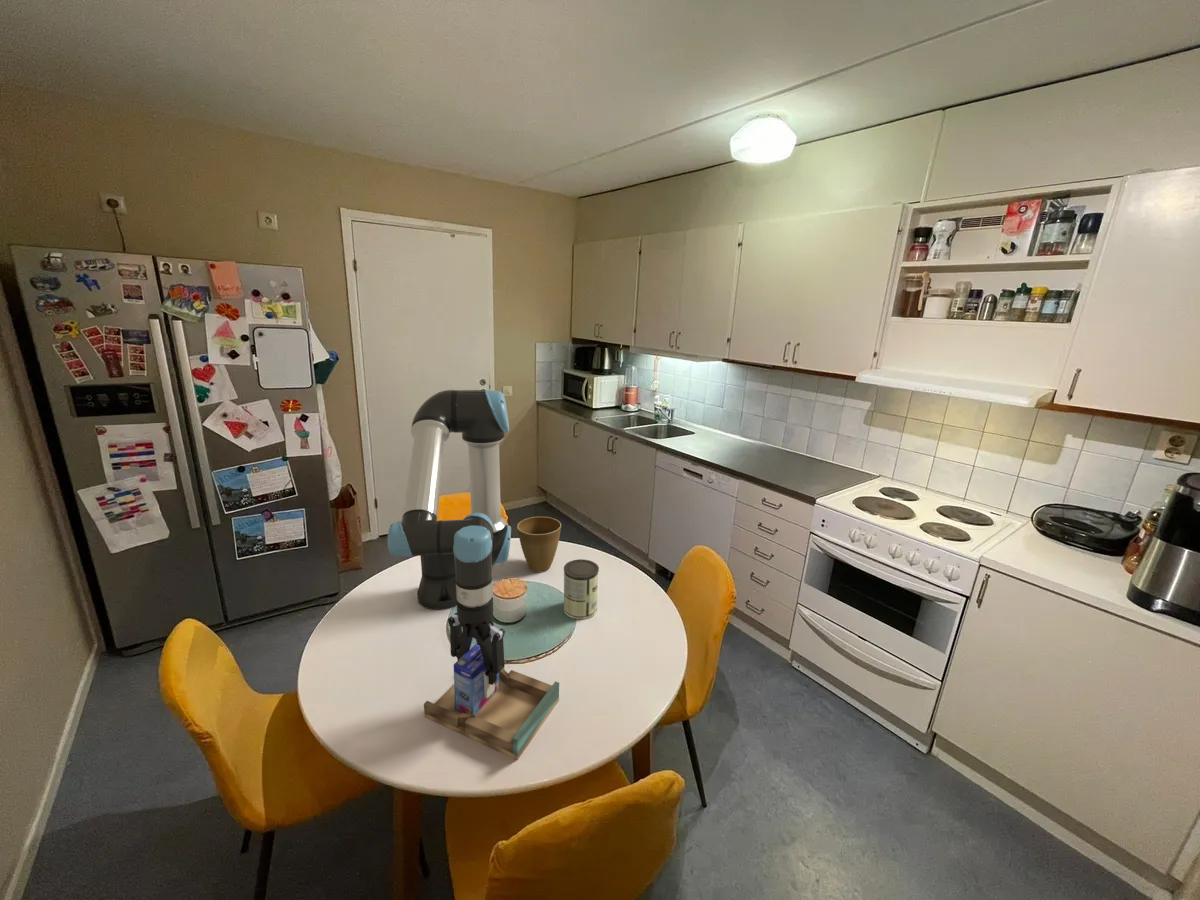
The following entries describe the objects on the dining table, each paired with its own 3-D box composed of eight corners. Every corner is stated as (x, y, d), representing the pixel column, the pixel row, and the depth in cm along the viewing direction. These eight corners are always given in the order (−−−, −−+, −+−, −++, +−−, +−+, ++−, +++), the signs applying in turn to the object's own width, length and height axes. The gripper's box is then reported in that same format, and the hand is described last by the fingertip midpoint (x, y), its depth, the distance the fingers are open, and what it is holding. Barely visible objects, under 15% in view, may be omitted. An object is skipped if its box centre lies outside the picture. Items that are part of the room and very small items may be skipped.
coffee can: (566, 598, 151) (566, 557, 147) (598, 601, 150) (600, 560, 146) (560, 618, 141) (560, 575, 137) (595, 621, 140) (596, 578, 136)
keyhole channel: (424, 716, 105) (423, 698, 104) (474, 667, 120) (473, 650, 119) (517, 759, 96) (517, 739, 95) (559, 700, 111) (559, 682, 110)
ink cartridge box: (473, 720, 104) (471, 663, 100) (453, 710, 106) (450, 655, 102) (501, 689, 112) (500, 636, 108) (482, 681, 114) (480, 629, 110)
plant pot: (564, 558, 175) (564, 517, 171) (555, 579, 161) (556, 536, 156) (524, 554, 177) (523, 514, 172) (512, 575, 162) (511, 532, 158)
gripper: (428, 595, 102) (434, 686, 109) (500, 620, 95) (502, 715, 101) (452, 579, 109) (457, 665, 115) (521, 601, 102) (522, 691, 108)
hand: (478, 688), depth 108 cm, fingers closed on ink cartridge box, 5 cm apart
